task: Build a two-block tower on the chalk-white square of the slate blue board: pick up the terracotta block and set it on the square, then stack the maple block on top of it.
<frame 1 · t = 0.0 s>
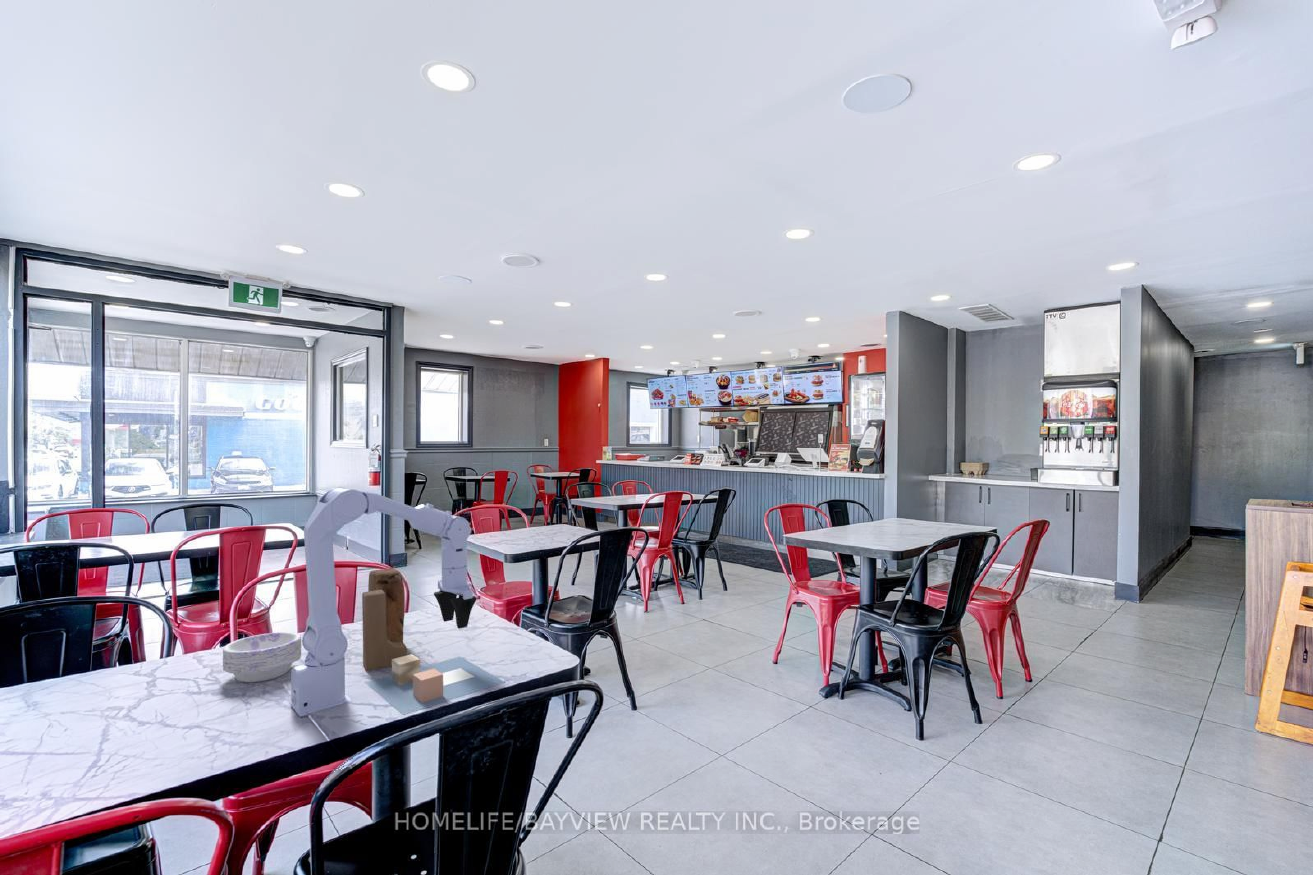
hand: (455, 624, 144), 10 cm above the table, tool pointing down, fingers open, 7 cm apart
maple block: (406, 679, 135), point 1 cm above the table, touching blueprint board
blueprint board: (435, 684, 133), on the table
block: (387, 648, 157), on the table
paper bowls: (263, 676, 140), on the table
terracotta block: (428, 696, 126), point 1 cm above the table, touching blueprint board
wooden block: (385, 667, 144), on the table
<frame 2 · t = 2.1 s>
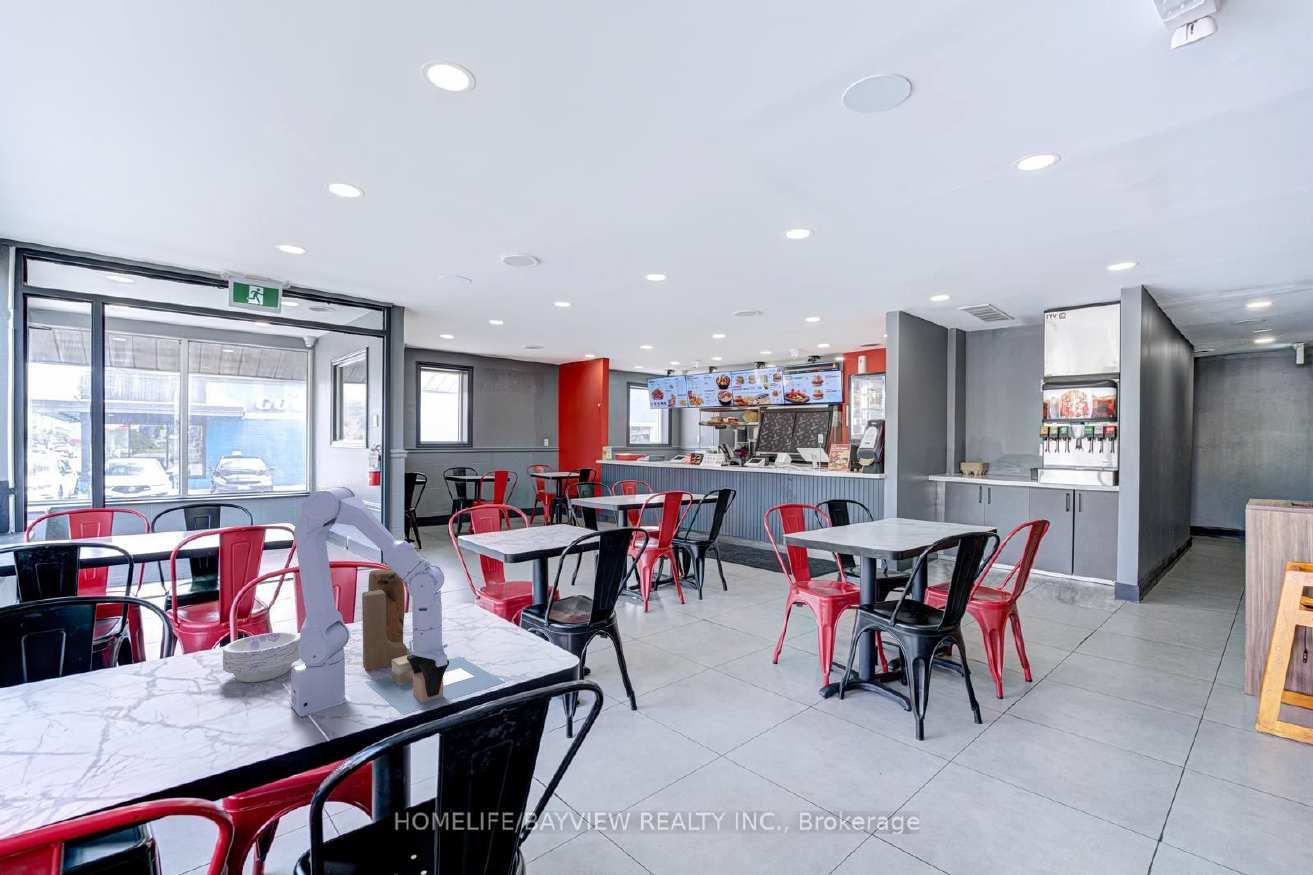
hand: (428, 691, 126), 2 cm above the table, tool pointing down, fingers closed on terracotta block, 4 cm apart
terracotta block: (428, 696, 126), point 1 cm above the table, touching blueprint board, gripper
everything else where it was.
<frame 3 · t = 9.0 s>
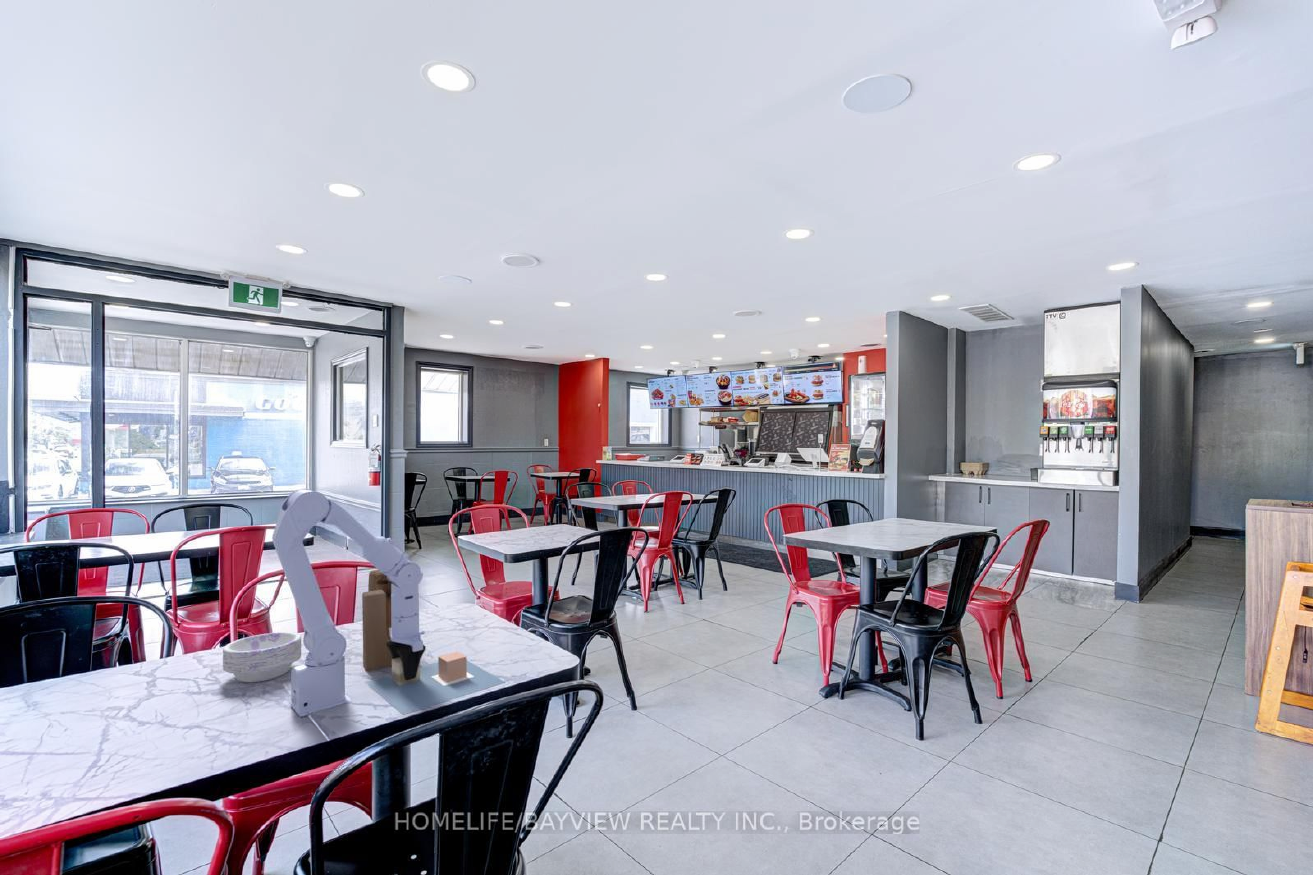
hand: (406, 675, 135), 2 cm above the table, tool pointing down, fingers closed on maple block, 4 cm apart
maple block: (406, 679, 135), point 1 cm above the table, touching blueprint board, gripper
terracotta block: (452, 676, 136), point 1 cm above the table, touching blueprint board
everything else where it was.
when the fingers open (7 cm above the table, at t = 12.2 s): maple block stays where it is, resting on terracotta block.
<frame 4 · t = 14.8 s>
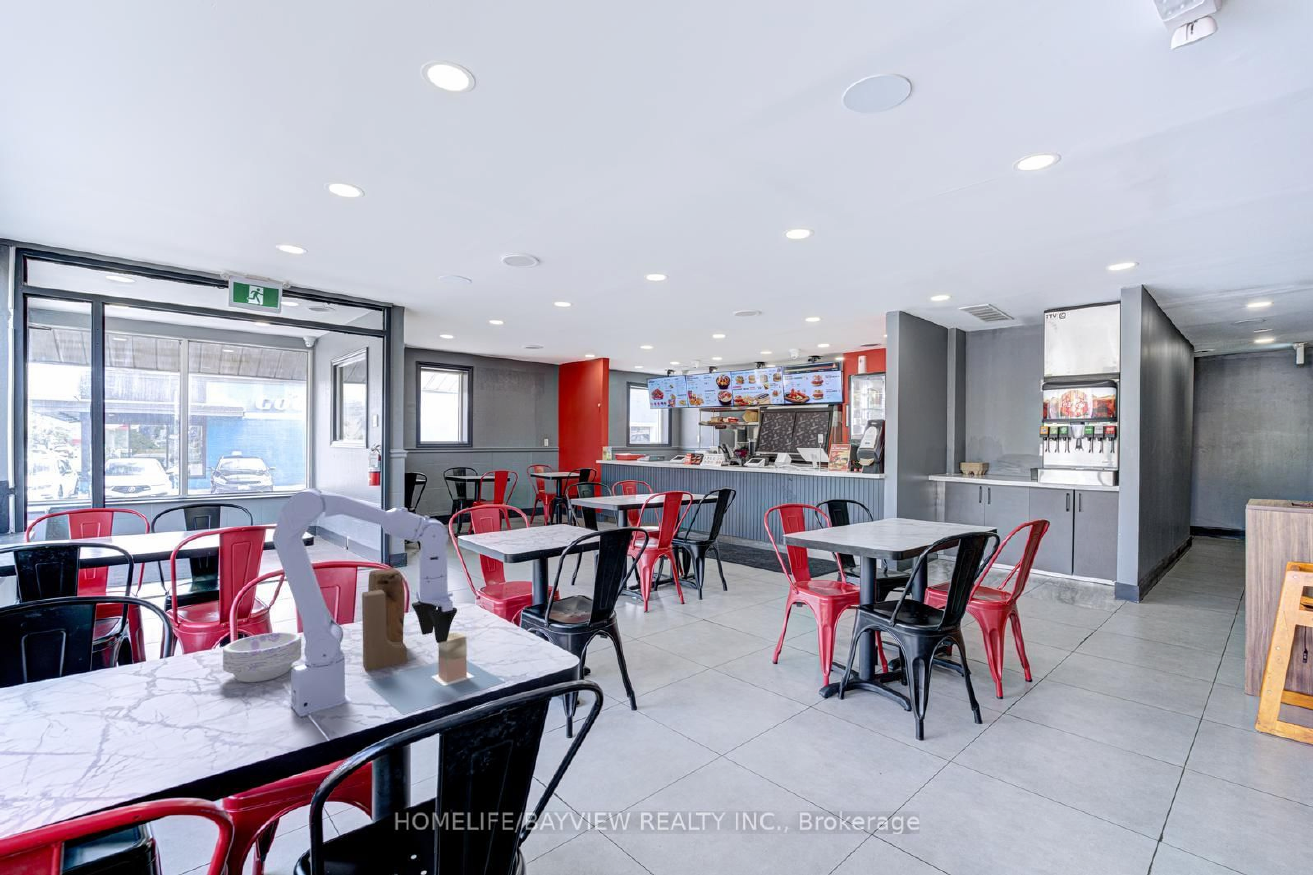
hand: (434, 637, 133), 10 cm above the table, tool pointing down, fingers open, 7 cm apart
maple block: (452, 656, 136), point 5 cm above the table, touching terracotta block
terracotta block: (452, 676, 136), point 1 cm above the table, touching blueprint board, maple block
everything else where it was.
at the end: terracotta block 0.0 cm from the target spot on the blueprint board, point 0.7 cm above the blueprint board's base; maple block 0.1 cm from the target spot on the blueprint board, point 5.2 cm above the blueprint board's base; maple block tilted 0° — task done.
